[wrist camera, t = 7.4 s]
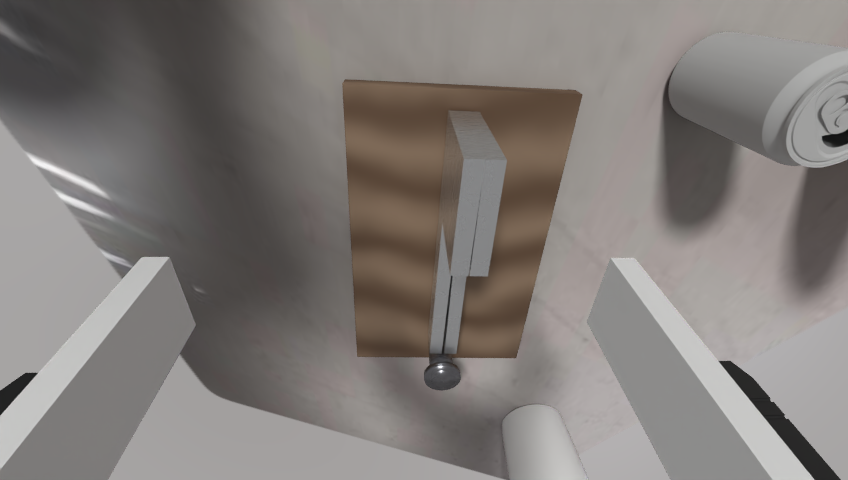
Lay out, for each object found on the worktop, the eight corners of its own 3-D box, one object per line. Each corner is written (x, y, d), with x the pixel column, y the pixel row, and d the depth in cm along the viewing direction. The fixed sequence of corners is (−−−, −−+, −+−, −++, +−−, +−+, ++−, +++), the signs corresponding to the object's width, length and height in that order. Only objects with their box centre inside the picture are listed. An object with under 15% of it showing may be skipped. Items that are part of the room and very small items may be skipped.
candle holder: (521, 392, 52) (548, 491, 42) (581, 410, 54) (621, 508, 44) (482, 433, 56) (498, 531, 46) (539, 448, 59) (567, 545, 49)
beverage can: (687, 132, 34) (806, 195, 24) (647, 78, 31) (761, 123, 21) (762, 73, 32) (930, 115, 21) (725, 9, 29) (895, 22, 19)
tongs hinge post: (454, 353, 45) (458, 391, 41) (422, 352, 45) (423, 391, 41) (457, 329, 43) (462, 367, 39) (423, 329, 43) (425, 367, 39)
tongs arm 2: (453, 331, 43) (464, 416, 34) (442, 331, 43) (450, 416, 34) (479, 111, 30) (507, 160, 22) (463, 111, 30) (485, 159, 22)
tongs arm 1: (439, 331, 43) (447, 416, 34) (428, 330, 43) (433, 416, 34) (464, 111, 30) (485, 159, 22) (448, 110, 30) (463, 158, 22)
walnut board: (345, 79, 31) (342, 83, 29) (575, 90, 32) (582, 94, 30) (358, 346, 46) (357, 356, 45) (513, 348, 47) (516, 358, 46)
